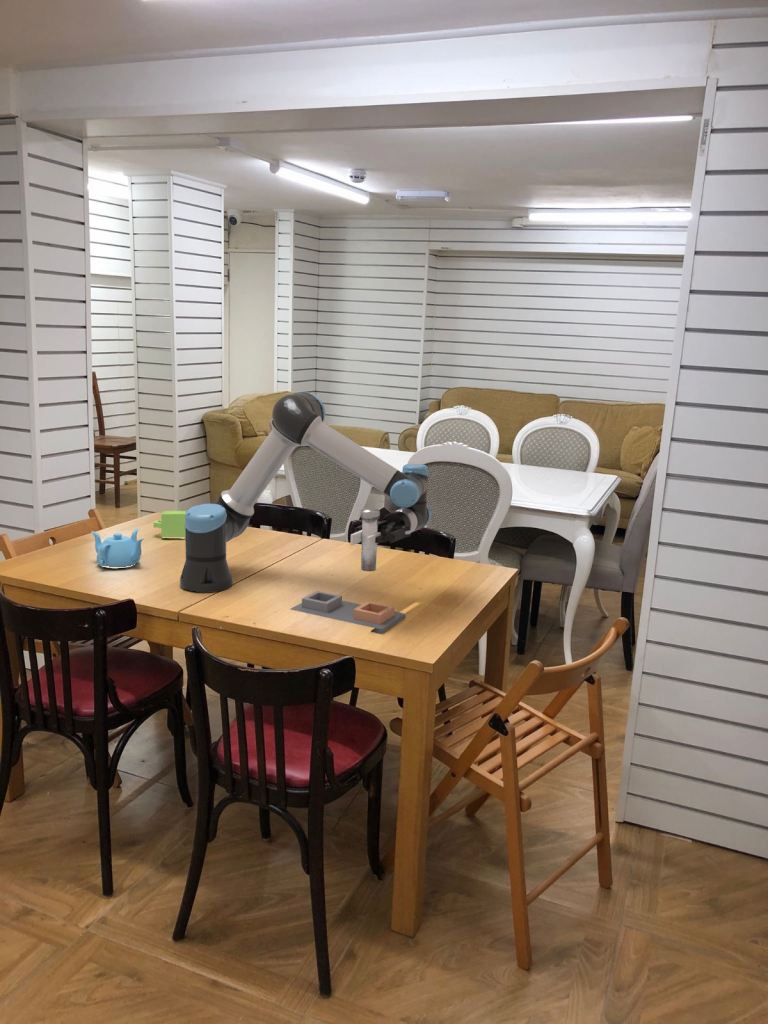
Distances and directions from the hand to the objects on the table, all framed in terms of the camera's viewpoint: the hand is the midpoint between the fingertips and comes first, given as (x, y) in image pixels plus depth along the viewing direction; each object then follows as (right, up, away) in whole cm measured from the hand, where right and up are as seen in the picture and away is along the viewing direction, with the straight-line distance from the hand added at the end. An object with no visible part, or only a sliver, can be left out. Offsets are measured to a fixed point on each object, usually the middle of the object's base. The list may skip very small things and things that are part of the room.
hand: (359, 541), depth 198 cm
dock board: (-4, -21, +12) cm, 24 cm away
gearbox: (-69, -2, +87) cm, 111 cm away
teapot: (-78, -9, +50) cm, 93 cm away
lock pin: (+2, -8, +7) cm, 10 cm away
